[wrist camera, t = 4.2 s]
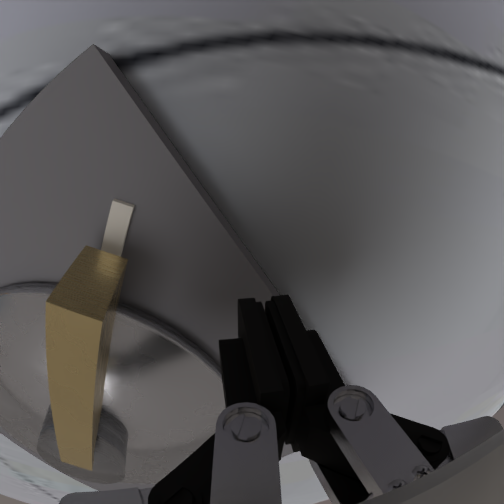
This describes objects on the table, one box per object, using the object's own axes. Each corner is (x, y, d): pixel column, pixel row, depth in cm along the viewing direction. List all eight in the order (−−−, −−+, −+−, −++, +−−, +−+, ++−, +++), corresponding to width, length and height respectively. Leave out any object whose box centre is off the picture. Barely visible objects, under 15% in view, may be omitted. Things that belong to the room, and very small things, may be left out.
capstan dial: (194, 485, 20) (199, 529, 16) (-6, 428, 15) (-19, 469, 11) (322, 303, 13) (366, 375, 9) (-51, 181, 8) (-117, 216, 4)
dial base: (108, 54, 9) (90, 42, 7) (353, 398, 21) (365, 420, 19) (-83, 324, 12) (-95, 340, 10) (121, 485, 23) (120, 502, 21)
